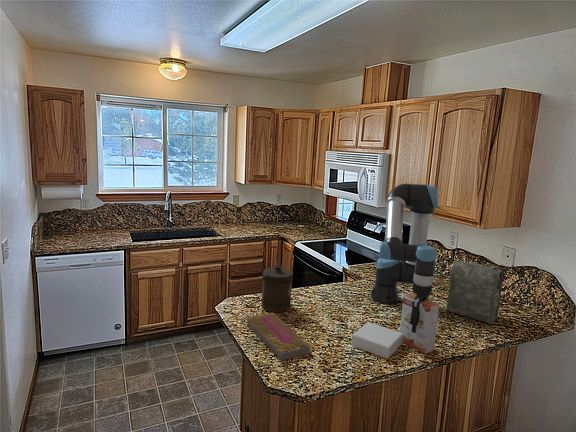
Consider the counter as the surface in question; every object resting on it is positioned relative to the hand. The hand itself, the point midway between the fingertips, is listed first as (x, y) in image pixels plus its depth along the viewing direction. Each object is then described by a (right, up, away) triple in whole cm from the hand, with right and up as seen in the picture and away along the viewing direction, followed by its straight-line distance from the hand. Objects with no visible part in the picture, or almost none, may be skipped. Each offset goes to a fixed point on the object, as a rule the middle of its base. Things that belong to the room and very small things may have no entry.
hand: (416, 335), depth 165 cm
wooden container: (-60, +4, +35) cm, 70 cm away
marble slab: (-17, -4, +1) cm, 17 cm away
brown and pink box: (-59, -2, +2) cm, 59 cm away
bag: (+40, 0, +36) cm, 53 cm away
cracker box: (0, -5, +1) cm, 5 cm away
